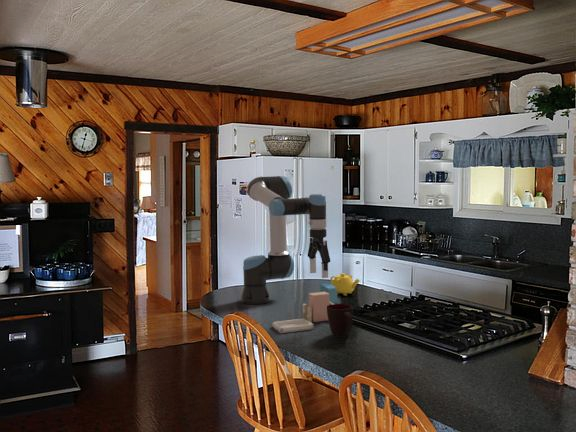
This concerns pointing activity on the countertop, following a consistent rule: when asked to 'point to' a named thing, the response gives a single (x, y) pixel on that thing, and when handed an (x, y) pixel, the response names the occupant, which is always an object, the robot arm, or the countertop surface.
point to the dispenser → (308, 312)
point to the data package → (330, 292)
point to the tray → (292, 325)
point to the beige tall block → (319, 305)
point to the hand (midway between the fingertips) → (318, 275)
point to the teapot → (344, 283)
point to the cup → (340, 319)
